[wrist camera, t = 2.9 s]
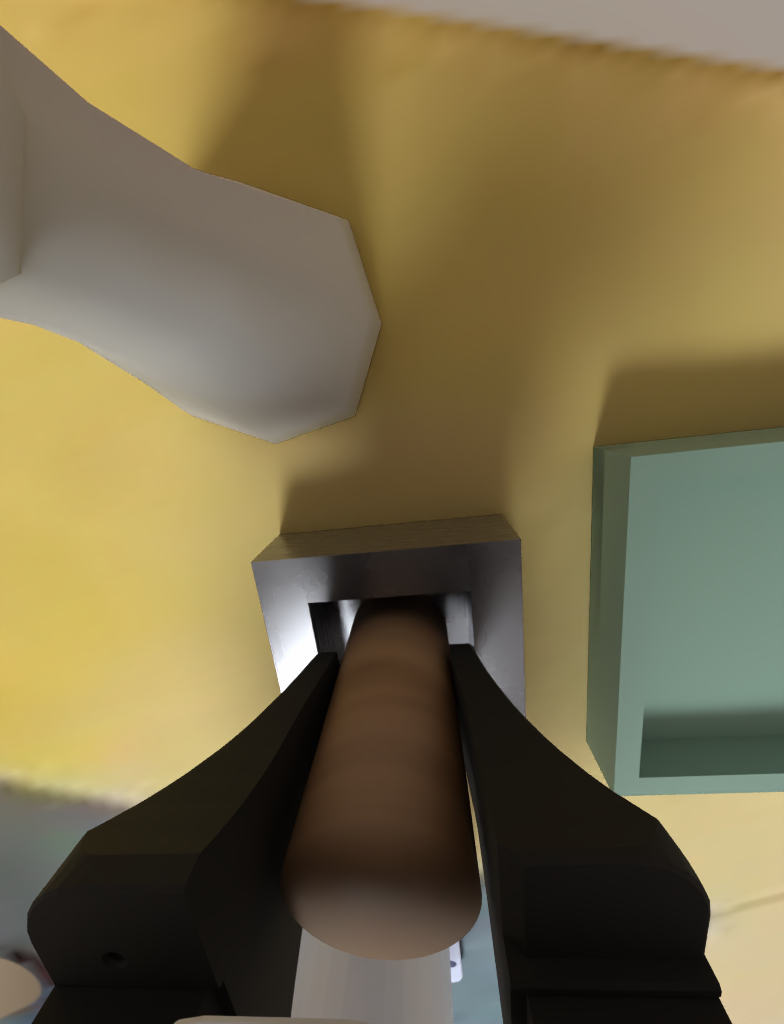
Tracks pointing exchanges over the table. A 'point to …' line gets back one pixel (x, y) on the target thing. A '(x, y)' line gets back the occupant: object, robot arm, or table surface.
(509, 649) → the square metal dish
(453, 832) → the pin
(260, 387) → the flask
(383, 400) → the table surface
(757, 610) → the tray
